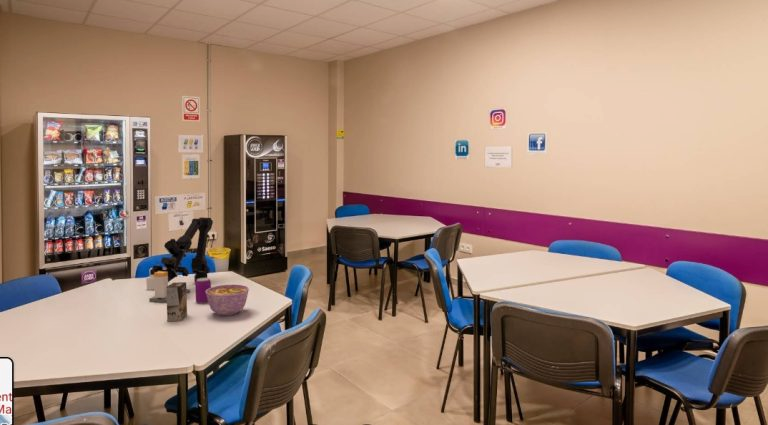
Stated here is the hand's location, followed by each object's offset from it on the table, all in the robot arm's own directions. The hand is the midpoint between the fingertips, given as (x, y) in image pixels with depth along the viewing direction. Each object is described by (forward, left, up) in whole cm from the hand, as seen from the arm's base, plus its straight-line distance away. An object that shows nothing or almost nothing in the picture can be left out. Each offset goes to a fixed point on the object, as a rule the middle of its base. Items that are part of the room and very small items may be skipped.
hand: (164, 284), depth 255 cm
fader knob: (+2, +2, -6) cm, 7 cm away
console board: (-4, -4, -8) cm, 10 cm away
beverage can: (-16, +15, -8) cm, 24 cm away
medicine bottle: (0, -25, -8) cm, 27 cm away
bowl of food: (-21, +40, -8) cm, 46 cm away
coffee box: (+1, +35, -8) cm, 36 cm away
